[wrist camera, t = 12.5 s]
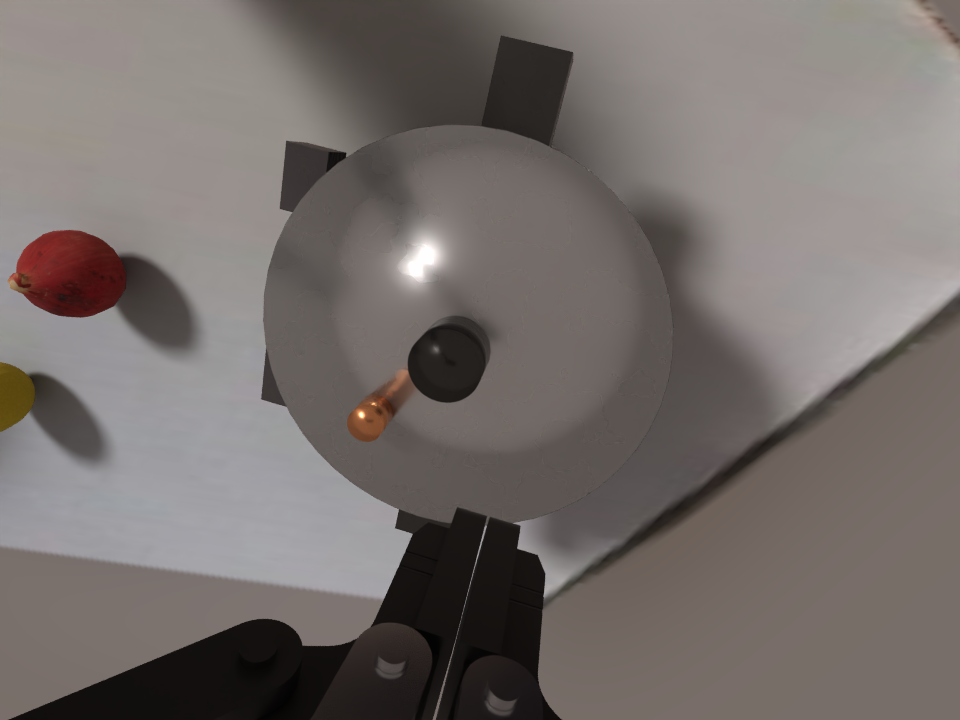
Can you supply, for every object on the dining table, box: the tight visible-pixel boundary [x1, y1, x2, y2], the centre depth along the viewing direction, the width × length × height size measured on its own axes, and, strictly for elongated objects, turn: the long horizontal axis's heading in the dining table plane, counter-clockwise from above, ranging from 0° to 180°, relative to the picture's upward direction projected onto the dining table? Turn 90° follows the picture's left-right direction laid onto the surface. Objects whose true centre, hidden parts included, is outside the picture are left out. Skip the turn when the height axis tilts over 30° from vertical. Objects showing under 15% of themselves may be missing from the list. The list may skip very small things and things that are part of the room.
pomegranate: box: [8, 230, 126, 317], centre depth 37 cm, size 6×6×8 cm
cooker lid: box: [263, 125, 673, 525], centre depth 24 cm, size 18×18×4 cm
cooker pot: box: [261, 36, 573, 534], centre depth 31 cm, size 25×18×12 cm
